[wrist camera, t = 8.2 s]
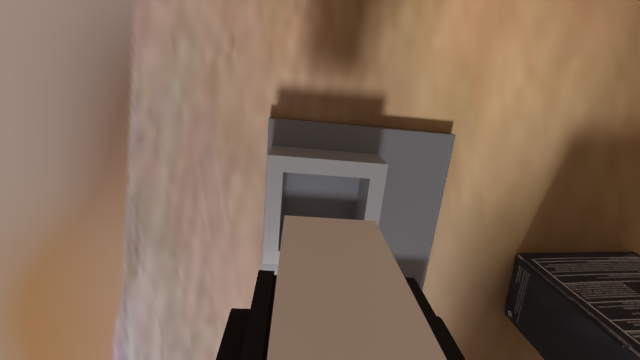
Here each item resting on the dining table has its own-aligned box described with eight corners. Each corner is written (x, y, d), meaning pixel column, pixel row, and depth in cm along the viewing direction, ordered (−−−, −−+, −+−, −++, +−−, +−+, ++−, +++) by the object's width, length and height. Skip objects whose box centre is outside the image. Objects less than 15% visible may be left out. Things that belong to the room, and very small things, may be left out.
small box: (500, 317, 28) (608, 445, 18) (514, 251, 26) (642, 354, 16) (614, 314, 29) (779, 437, 19) (635, 249, 27) (832, 348, 17)
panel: (450, 133, 23) (477, 142, 20) (400, 371, 30) (414, 411, 26) (270, 117, 22) (263, 124, 19) (258, 366, 29) (251, 408, 25)
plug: (375, 221, 14) (519, 500, 5) (363, 297, 15) (459, 638, 6) (284, 215, 14) (249, 502, 4) (279, 293, 15) (243, 648, 6)
